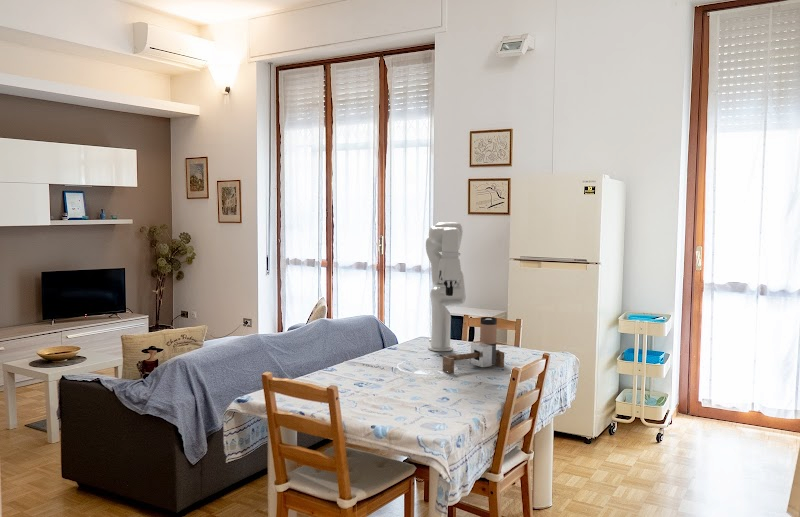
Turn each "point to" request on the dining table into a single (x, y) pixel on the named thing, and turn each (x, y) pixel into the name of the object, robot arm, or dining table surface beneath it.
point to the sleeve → (482, 354)
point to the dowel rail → (449, 360)
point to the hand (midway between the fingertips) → (449, 295)
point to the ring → (493, 353)
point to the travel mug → (488, 330)
